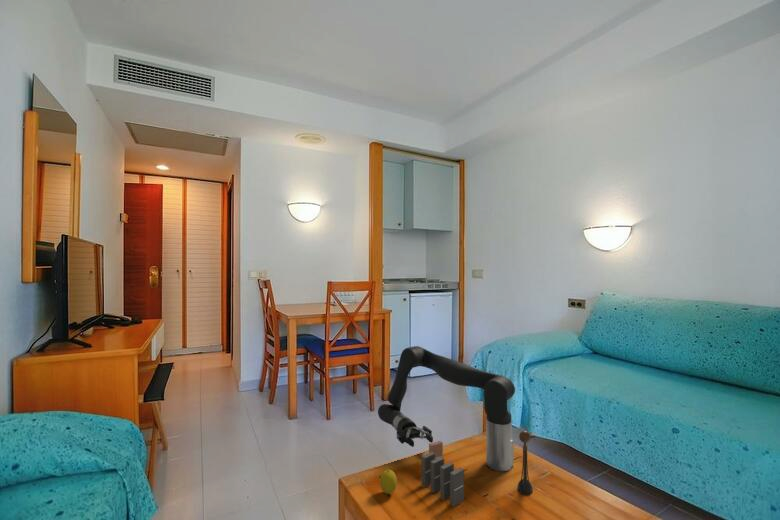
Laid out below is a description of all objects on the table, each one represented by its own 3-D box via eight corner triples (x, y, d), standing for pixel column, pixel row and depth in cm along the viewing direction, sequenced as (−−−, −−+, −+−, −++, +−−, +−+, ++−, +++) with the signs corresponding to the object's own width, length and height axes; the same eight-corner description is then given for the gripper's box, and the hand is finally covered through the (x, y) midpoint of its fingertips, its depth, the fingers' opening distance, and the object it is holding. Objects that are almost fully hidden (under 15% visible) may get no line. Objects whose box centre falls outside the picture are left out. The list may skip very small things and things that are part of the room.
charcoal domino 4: (449, 504, 116) (450, 472, 116) (460, 497, 119) (460, 467, 119) (453, 506, 115) (453, 475, 115) (463, 500, 118) (464, 469, 118)
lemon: (398, 490, 123) (398, 466, 123) (393, 500, 117) (393, 475, 118) (383, 487, 124) (383, 464, 125) (377, 497, 119) (377, 472, 119)
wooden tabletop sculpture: (531, 485, 126) (531, 427, 127) (538, 493, 122) (538, 433, 122) (515, 486, 125) (515, 428, 126) (521, 494, 121) (521, 434, 121)
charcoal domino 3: (440, 497, 119) (440, 466, 119) (450, 491, 122) (450, 461, 123) (443, 500, 118) (443, 469, 118) (453, 493, 121) (453, 463, 121)
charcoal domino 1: (421, 485, 126) (421, 456, 126) (431, 479, 129) (431, 451, 129) (424, 487, 125) (425, 458, 125) (434, 482, 128) (435, 453, 128)
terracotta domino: (428, 470, 135) (429, 443, 135) (440, 467, 137) (440, 440, 137) (431, 472, 133) (431, 445, 134) (442, 469, 136) (442, 442, 136)
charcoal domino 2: (430, 491, 122) (430, 461, 123) (440, 485, 126) (440, 456, 126) (434, 493, 121) (434, 463, 121) (444, 487, 124) (444, 458, 125)
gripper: (389, 420, 156) (406, 436, 141) (418, 414, 162) (438, 429, 147) (389, 437, 156) (406, 455, 141) (418, 431, 162) (438, 448, 147)
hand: (422, 442), depth 144 cm, fingers open, 8 cm apart
